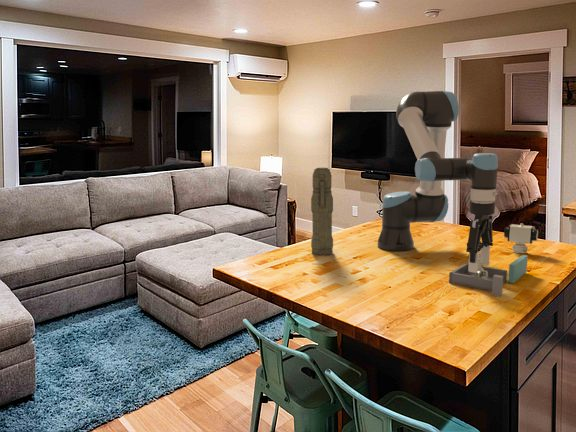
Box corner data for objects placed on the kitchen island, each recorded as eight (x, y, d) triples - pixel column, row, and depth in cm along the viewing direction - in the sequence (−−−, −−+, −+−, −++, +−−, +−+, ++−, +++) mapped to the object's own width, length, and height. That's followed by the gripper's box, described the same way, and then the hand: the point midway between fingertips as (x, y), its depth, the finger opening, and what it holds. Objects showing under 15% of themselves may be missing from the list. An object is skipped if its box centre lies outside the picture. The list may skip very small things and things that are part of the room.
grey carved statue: (313, 257, 195) (312, 169, 188) (309, 249, 206) (309, 167, 200) (335, 256, 195) (335, 169, 189) (330, 248, 207) (330, 166, 200)
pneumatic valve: (534, 255, 191) (537, 226, 189) (502, 251, 198) (504, 223, 196) (536, 252, 196) (539, 223, 193) (505, 248, 202) (507, 220, 200)
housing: (445, 285, 159) (446, 267, 158) (465, 272, 171) (465, 256, 170) (499, 296, 148) (501, 277, 147) (516, 282, 160) (518, 264, 159)
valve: (473, 282, 158) (472, 246, 156) (463, 277, 165) (462, 242, 163) (492, 280, 159) (491, 244, 157) (482, 275, 165) (481, 240, 164)
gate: (508, 282, 160) (509, 264, 159) (521, 271, 171) (522, 254, 170) (513, 283, 159) (514, 265, 158) (526, 272, 170) (527, 255, 169)
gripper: (482, 207, 146) (477, 278, 150) (505, 198, 163) (501, 262, 167) (457, 205, 151) (454, 274, 155) (483, 196, 168) (479, 258, 172)
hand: (478, 268), depth 161 cm, fingers open, 10 cm apart
